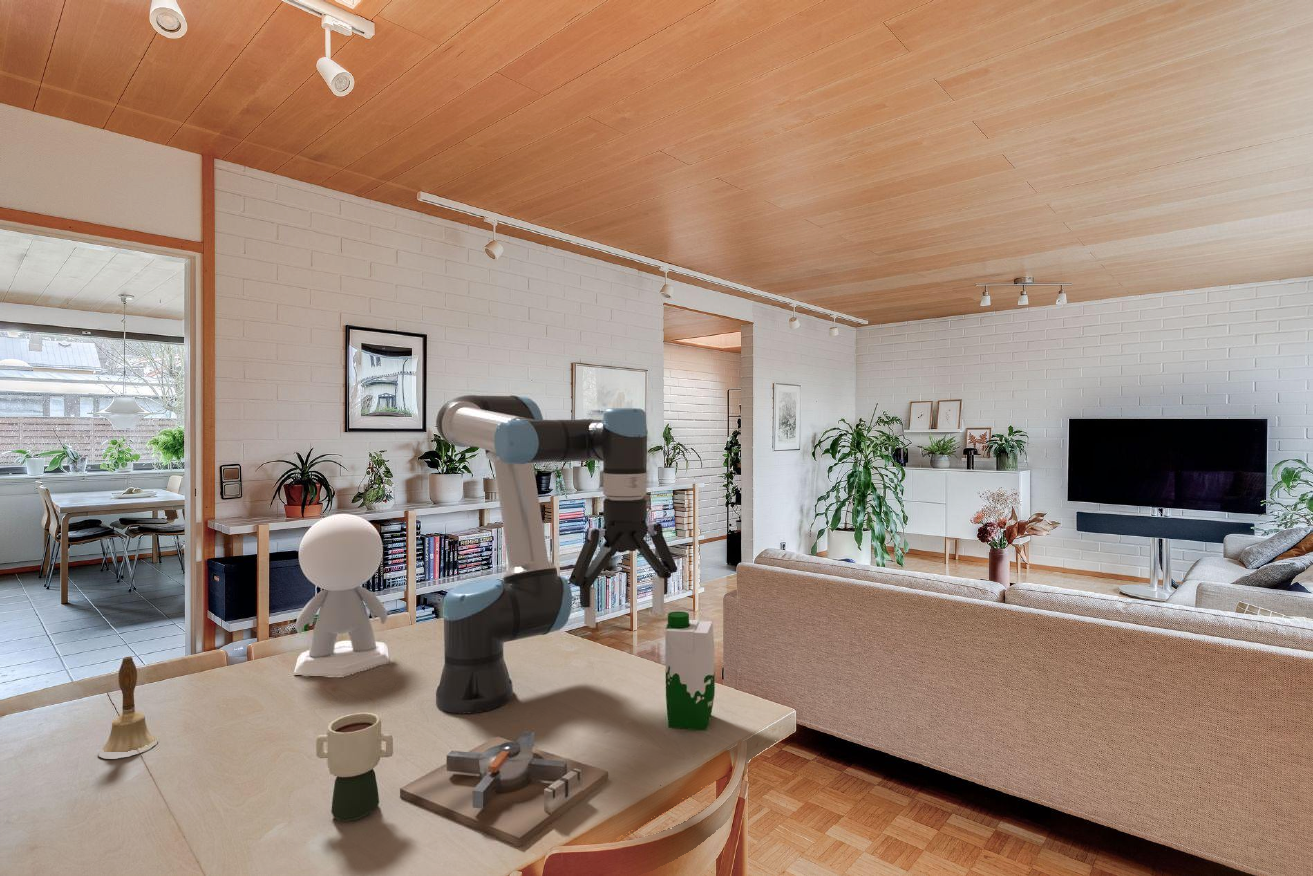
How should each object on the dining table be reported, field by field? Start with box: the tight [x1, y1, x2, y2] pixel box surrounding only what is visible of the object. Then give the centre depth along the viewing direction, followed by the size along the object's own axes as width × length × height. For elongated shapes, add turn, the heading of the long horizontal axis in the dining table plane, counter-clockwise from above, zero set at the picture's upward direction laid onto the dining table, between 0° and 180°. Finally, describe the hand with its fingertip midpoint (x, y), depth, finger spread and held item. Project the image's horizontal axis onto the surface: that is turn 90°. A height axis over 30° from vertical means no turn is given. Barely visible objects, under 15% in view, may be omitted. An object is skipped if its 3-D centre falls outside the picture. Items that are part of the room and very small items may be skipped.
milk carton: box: [664, 610, 716, 731], centre depth 127 cm, size 9×9×20 cm
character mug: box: [315, 712, 394, 821], centre depth 97 cm, size 11×7×13 cm, turn 91°
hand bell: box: [102, 656, 157, 752], centre depth 118 cm, size 8×8×16 cm
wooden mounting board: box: [399, 735, 609, 848], centre depth 104 cm, size 24×20×4 cm
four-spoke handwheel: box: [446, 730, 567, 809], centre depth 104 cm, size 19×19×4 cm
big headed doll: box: [293, 513, 390, 678], centre depth 161 cm, size 20×23×35 cm
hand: (625, 619), depth 118 cm, fingers open, 13 cm apart
